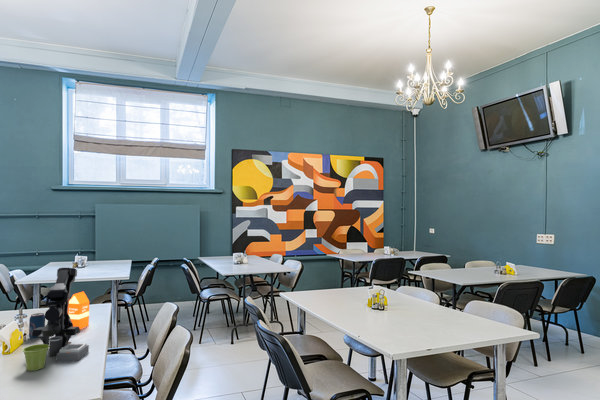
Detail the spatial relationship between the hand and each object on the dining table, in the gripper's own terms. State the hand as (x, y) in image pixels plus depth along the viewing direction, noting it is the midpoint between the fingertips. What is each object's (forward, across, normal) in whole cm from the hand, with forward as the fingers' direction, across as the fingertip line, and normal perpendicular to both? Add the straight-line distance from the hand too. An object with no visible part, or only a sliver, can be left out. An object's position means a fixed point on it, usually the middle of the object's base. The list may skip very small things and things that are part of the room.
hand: (55, 350), depth 179 cm
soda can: (+2, -23, +28) cm, 36 cm away
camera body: (+2, +9, -3) cm, 10 cm away
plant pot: (+3, 0, -15) cm, 15 cm away
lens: (+2, 0, 0) cm, 2 cm away
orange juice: (+2, -10, +45) cm, 46 cm away
